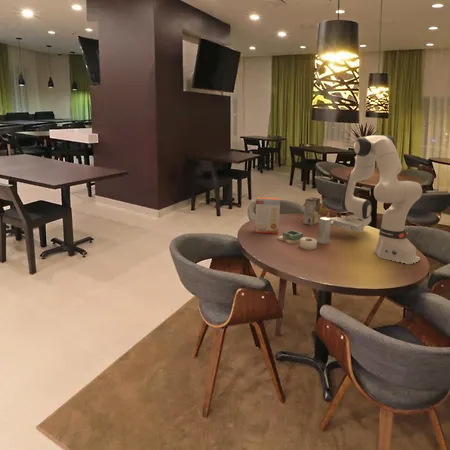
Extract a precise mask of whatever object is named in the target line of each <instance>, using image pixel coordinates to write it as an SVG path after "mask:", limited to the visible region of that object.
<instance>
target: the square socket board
mask: <svg viewBox="0 0 450 450" xmlns="http://www.w3.org/2000/svg"><path fill="white" fill-rule="evenodd" d="M303 237H304V233H303V232H300V231H297V230H294V229H290V230H288V231H287V230H285V231H283V232H282V235H279V236H277V240H279V241H283V242H285V243H288V244H291V245H293V246H294V245H297V244H298V245H299V244H300V239H301V238H303Z"/></svg>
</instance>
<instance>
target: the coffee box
mask: <svg viewBox="0 0 450 450" xmlns="http://www.w3.org/2000/svg"><path fill="white" fill-rule="evenodd" d="M304 204H305V205H304V212H303V213H304V215H303V224H306V225H311V226H313V225H315V224H317V223H319V220H320V207H321V198H319V197H315V196H314V197H313V196H311V197H308V198H306V199H305V202H304Z"/></svg>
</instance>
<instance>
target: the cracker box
mask: <svg viewBox="0 0 450 450" xmlns="http://www.w3.org/2000/svg"><path fill="white" fill-rule="evenodd" d="M255 200H256V203H255V221H254V233H258V234H272V235H275V234H276V235H277V234H279V225H280V211H281V210H280V209H281V208H280V207H281V197H270V196H269V197H266V196H256V198H255Z"/></svg>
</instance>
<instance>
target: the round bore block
mask: <svg viewBox="0 0 450 450" xmlns="http://www.w3.org/2000/svg"><path fill="white" fill-rule="evenodd" d="M317 240H318V239H317V238H314V237H308V236H303V238H301V239H300V243H299V248H300V249H302V250H308V251H313V250H316V249H317V245H318V242H317Z"/></svg>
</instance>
